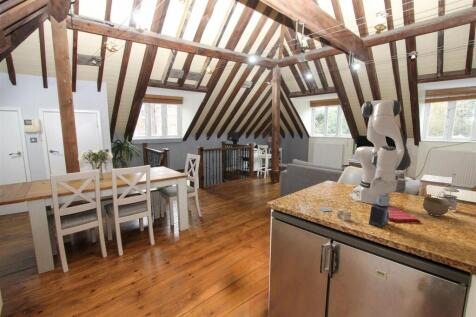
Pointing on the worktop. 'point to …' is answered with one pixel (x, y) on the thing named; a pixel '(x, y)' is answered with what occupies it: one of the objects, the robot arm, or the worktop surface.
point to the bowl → (435, 205)
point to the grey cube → (382, 200)
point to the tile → (325, 209)
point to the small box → (379, 215)
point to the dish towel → (400, 216)
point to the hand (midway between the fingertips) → (381, 201)
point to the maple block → (343, 214)
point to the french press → (450, 196)
